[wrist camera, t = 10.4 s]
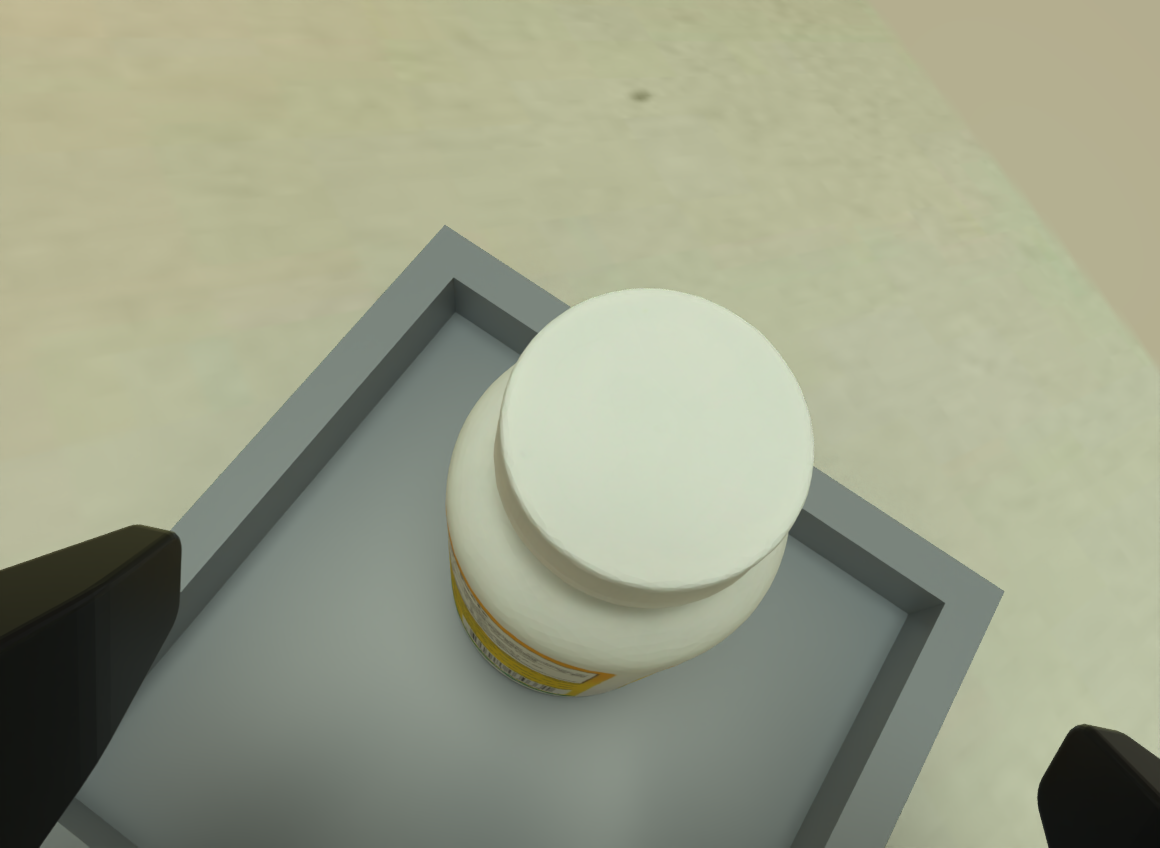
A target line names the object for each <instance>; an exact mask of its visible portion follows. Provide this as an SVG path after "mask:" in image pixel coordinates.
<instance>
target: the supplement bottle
mask: <svg viewBox="0 0 1160 848" xmlns="http://www.w3.org/2000/svg"><path fill="white" fill-rule="evenodd" d="M813 463H814V437H813V430H812V423H811V417H810V414H809V410H808V407H807V404H806V401H805V398H804V396H803V393H802V391H801V388H800V386H799V384H798V382H797V379H796V378H795V376H794V374H793V373H792V371H791V370H790V368H789V367H788V365H787V364H786V362H785V361H784V359H783V358H782V357H781V355H780V354H779V352H778V351H777V350H776V349H775V347H774V346H773V345H772V344H771V343H770V342H769V341H768V340H767V339H766V337H765V336H764V335H763V334H761V333H760V332H759V331H758V330H757V329H756V328H755V327H753V326H752V325H750V324H749V323H748V322H746V321H745V320H744V319H742V318H741V317H740V316H738V315H736V314H735V313H733V312H731V311H730V310H728V309H726V308H724V307H722V306H720V305H718V304H716V303H714V302H711V301H709V300H707V299H704V298H702V297H699V296H695V295H691V294H687V293H683V292H679V291H673V290H667V289H656V288H637V289H625V290H621V291H614V292H610V293H606V294H602V295H599V296H596V297H593V298H591V299H588V300H586V301H583V302H581V303H579V304H577V305H575V306H573V307H571V308H569V309H568V310H566V311H565V312H564V313H562V314H561V315H559V316H558V317H556V318H555V319H553V320H552V321H551V322H550V323H548V324H547V325H546V326H545V327H544V328H543V329H542V330H541V331H540V332H539V333H538V334H537V335H536V336H535V337H534V338H533V339H532V340H531V342H530V343H529V344H528V346H527V347H526V348H525V350H524V351H523V353H522V354H521V356H520V357H519V359H518V361H517V362H516V363H515V364H514V365H513V366H512V367H510V368H509V369H508V370H507V371H505V372H504V373H503V374H502V375H501V376H500V377H499V378H498V379H497V380H495V381H494V382H493V383H492V384H491V386H490V387H489V388H488V389H487V390H486V391H485V392H484V394H483V395H482V396H481V397H480V399H479V400H478V401H477V403H476V404H475V406H474V407H473V409H472V410H471V412H470V413H469V415H468V417H467V419H466V421H465V423H464V425H463V427H462V429H461V431H460V433H459V436H458V438H457V441H456V444H455V447H454V450H453V453H452V457H451V462H450V466H449V471H448V478H447V487H446V518H447V529H448V544H449V556H450V571H451V583H452V591H453V597H454V601H455V605H456V609H457V612H458V615H459V617H460V620H461V623H462V625H463V627H464V629H465V631H466V633H467V634H468V636H469V638H470V640H471V641H472V643H473V644H474V646H475V647H476V649H477V650H478V651H479V652H480V654H481V655H482V656H483V657H484V658H485V659H486V660H487V661H488V662H489V663H490V664H491V665H492V666H493V667H494V668H496V669H497V670H498V671H499V672H501V673H502V674H504V675H505V676H507V677H508V678H510V679H511V680H513V681H515V682H516V683H518V684H520V685H522V686H525V687H527V688H530V689H532V690H535V691H538V692H541V693H545V694H550V695H554V696H563V697H580V696H591V695H596V694H601V693H605V692H608V691H611V690H614V689H617V688H620V687H623V686H625V685H627V684H629V683H632V682H634V681H637V680H639V679H642V678H644V677H647V676H649V675H651V674H654V673H656V672H659V671H662V670H665V669H668V668H670V667H673V666H676V665H678V664H681V663H683V662H685V661H687V660H690V659H692V658H694V657H696V656H698V655H700V654H702V653H704V652H706V651H708V650H709V649H711V648H712V647H714V646H715V645H717V644H718V643H720V642H721V641H723V640H724V639H725V638H727V637H728V636H729V635H730V634H732V633H733V632H734V631H735V630H736V629H737V628H738V627H739V626H740V625H741V624H742V623H743V622H744V621H746V620H747V619H748V617H749V616H750V615H751V614H752V613H753V611H754V610H755V609H756V608H757V606H758V605H759V603H760V602H761V600H762V599H763V597H764V596H765V594H766V593H767V591H768V589H769V588H770V586H771V584H772V582H773V580H774V578H775V575H776V573H777V571H778V569H779V566H780V563H781V560H782V557H783V554H784V551H785V547H786V543H787V537H788V532H789V530H790V529H791V527H792V526H793V524H794V522H795V521H796V519H797V517H798V515H799V513H800V511H801V509H802V508H803V505H804V503H805V500H806V498H807V495H808V492H809V487H810V483H811V478H812V471H813Z"/></svg>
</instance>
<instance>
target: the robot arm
mask: <svg viewBox="0 0 1160 848" xmlns="http://www.w3.org/2000/svg"><path fill="white" fill-rule="evenodd" d="M181 561H182V544H181V540H180V537H179V536H178V535H177V534H176V533H175V532H173V531H168V530H163V529H159V528H154V527H149V526H145V525H131V526H128V527H125V528H122V529H119V530H116V531H113V532H111V533H108V534H105V535H102V536H99V537H96V538H93V539H90V540H87V541H84V542H81V543H78V544H76V545H73V546H70V547H67V548H64V549H61V550H58V551H55V552H52V553H49V554H46V555H43V556H41V557H38V558H35V559H32V560H29V561H26V562H23V563H20V564H17V565H14V566H11V567H8V568H6V569H3V570H0V848H40V846H41V845H42V843H43V842H44V840H45V839H46V838H47V836H48V835H49V833H50V832H51V830H52V829H53V828H54V826H55V825H56V823H57V822H58V820H59V819H60V818H61V816H62V815H63V813H64V812H65V810H66V809H67V808H68V806H69V805H70V803H71V802H72V800H73V799H74V798H75V796H76V795H77V793H78V792H79V790H80V789H81V788H82V786H83V785H84V783H85V782H86V780H87V778H88V777H89V775H90V774H91V772H92V771H93V769H94V768H95V766H96V765H97V763H98V762H99V760H100V758H101V756H102V755H103V753H104V751H105V750H106V748H107V746H108V744H109V743H110V741H111V739H112V737H113V736H114V734H115V732H116V730H117V728H118V726H119V725H120V723H121V721H122V719H123V717H124V716H125V714H126V712H127V710H128V708H129V706H130V705H131V703H132V701H133V699H134V697H135V696H136V694H137V692H138V690H139V688H140V686H141V685H142V683H143V681H144V679H145V677H146V675H147V674H148V672H149V670H150V668H151V666H152V665H153V663H154V661H155V659H156V657H157V655H158V654H159V652H160V650H161V648H162V646H163V645H164V643H165V641H166V639H167V637H168V635H169V634H170V632H171V630H172V628H173V626H174V624H175V621H176V618H177V615H178V612H179V606H180V591H181ZM1037 799H1038V809H1039V813H1040V817H1041V821H1042V824H1043V828H1044V832H1045V836H1046V840H1047V843H1048V847H1049V848H1160V759H1159V758H1158V757H1156V756H1155V755H1154V754H1152V753H1151V752H1149V751H1148V750H1147V749H1145V748H1144V747H1143V746H1141V745H1140V744H1138V743H1137V742H1136V741H1134V740H1133V739H1131V738H1130V737H1129V736H1127V735H1125V734H1124V733H1121V732H1119V731H1116V730H1111V729H1106V728H1102V727H1097V726H1092V725H1087V724H1082V725H1077V726H1075V727H1074V728H1073V729H1071V730H1070V731H1069V733H1068V734H1067V736H1066V737H1065V739H1064V741H1063V743H1062V744H1061V746H1060V748H1059V750H1058V751H1057V753H1056V755H1055V757H1054V758H1053V760H1052V762H1051V763H1050V765H1049V767H1048V769H1047V770H1046V772H1045V774H1044V776H1043V777H1042V779H1041V782H1040V784H1039V788H1038V796H1037Z"/></svg>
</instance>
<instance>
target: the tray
mask: <svg viewBox="0 0 1160 848" xmlns="http://www.w3.org/2000/svg"><path fill="white" fill-rule="evenodd" d="M569 308H571V307H570V306H568V305H567V304H565V303H563V302H562V301H560V300H559V299H557V298H556V297H554V296H553V295H551V294H550V293H548V292H547V291H545V290H544V289H542V288H541V287H539V286H538V285H536V284H534V283H533V282H531V281H530V280H528V279H527V278H525V277H524V276H522V275H521V274H519V273H518V272H516V271H515V270H513V269H512V268H510V267H509V266H507V265H505V264H504V263H502V262H501V261H499V260H498V259H496V258H495V257H493V256H492V255H490V254H489V253H487V252H486V251H484V250H483V249H481V248H480V247H478V246H476V245H475V244H473V243H472V242H470V241H469V240H467V239H466V238H464V237H463V236H461V235H460V234H458V233H457V232H455V231H454V230H452V229H451V228H449V227H447V226H446V225H444V226H443V228H442V229H441V230H440V231H439V232H438V233H437V234H436V235H435V236H434V238H433V239H432V240H431V241H430V242H429V243H428V244H427V245H426V246H425V248H424V249H423V250H422V251H421V252H420V253H419V254H418V255H417V257H416V258H415V259H414V260H413V261H412V262H411V263H410V264H409V265H408V267H407V268H406V269H405V270H404V271H403V272H402V273H401V274H400V275H399V277H398V278H397V279H396V280H395V281H394V282H393V283H392V284H391V285H390V287H389V288H388V289H387V290H386V291H385V292H384V293H383V294H382V295H381V297H380V298H379V299H378V300H377V301H376V302H375V303H374V304H373V306H372V307H371V308H370V309H369V310H368V311H367V312H366V313H365V314H364V316H363V317H362V318H361V319H360V320H359V321H358V322H357V323H356V324H355V326H354V327H353V328H352V329H351V330H350V331H349V332H348V333H347V334H346V336H345V337H344V338H343V339H342V340H341V341H340V342H339V343H338V344H337V346H336V347H335V348H334V349H333V350H332V351H331V352H330V353H329V354H328V356H327V357H326V358H325V359H324V360H323V361H322V362H321V363H320V365H319V366H318V367H317V368H316V369H315V370H314V371H313V372H312V373H311V375H310V376H309V377H308V378H307V379H306V380H305V381H304V382H303V383H302V385H301V386H300V387H299V388H298V389H297V390H296V391H295V392H294V393H293V395H292V396H291V397H290V398H289V399H288V400H287V401H286V402H285V403H284V405H283V406H282V407H281V408H280V409H279V410H278V411H277V412H276V414H275V415H274V416H273V417H272V418H271V419H270V420H269V421H268V422H267V424H266V425H265V426H264V427H263V428H262V429H261V430H260V431H259V432H258V434H257V435H256V436H255V437H254V438H253V439H252V440H251V441H250V442H249V444H248V445H247V446H246V447H245V448H244V449H243V450H242V451H241V452H240V454H239V455H238V456H237V457H236V458H235V459H234V460H233V461H232V462H231V464H230V465H229V466H228V467H227V468H226V469H225V470H224V471H223V473H222V474H221V475H220V476H219V477H218V478H217V479H216V480H215V481H214V483H213V484H212V485H211V486H210V487H209V488H208V489H207V490H206V491H205V493H204V494H203V495H202V496H201V497H200V498H199V499H198V500H197V501H196V503H195V504H194V505H193V506H192V507H191V508H190V509H189V510H188V511H187V513H186V514H185V515H184V516H183V517H182V518H181V519H180V520H179V522H178V523H177V524H176V525H175V526H174V527H173V528H172V529H171V530H170V531H173V532H175V533H176V534H177V535H178V536H179V537H180V540H181V544H182V561H181V591H180V606H179V612H178V615H177V618H176V621H175V624H174V626H173V628H172V630H171V632H170V634H169V635H168V637H167V639H166V641H165V643H164V645H163V646H162V648H161V650H160V652H159V654H158V655H157V657H156V659H155V661H154V663H153V665H152V666H151V668H150V670H149V672H148V674H147V675H146V677H145V679H144V681H143V683H142V685H141V686H140V688H139V690H138V692H137V694H136V696H135V697H134V699H133V701H132V703H131V705H130V706H129V708H128V710H127V712H126V714H125V716H124V717H123V719H122V721H121V723H120V725H119V726H118V728H117V730H116V732H115V734H114V736H113V737H112V739H111V741H110V743H109V744H108V746H107V748H106V750H105V751H104V753H103V755H102V756H101V758H100V760H99V762H98V763H97V765H96V766H95V768H94V769H93V771H92V772H91V774H90V775H89V777H88V778H87V780H86V782H85V783H84V785H83V786H82V788H81V789H80V790H79V792H78V793H77V795H76V796H75V798H74V799H73V800H72V802H71V803H70V805H69V806H68V808H67V809H66V810H65V812H64V813H63V815H62V816H61V818H60V819H59V820H58V822H57V823H56V825H55V826H54V828H53V829H52V830H51V832H50V833H49V835H48V836H47V838H46V839H45V840H44V842H43V843H42V845H41V846H40V848H885V846H886V844H887V842H888V839H889V837H890V835H891V833H892V831H893V829H894V827H895V824H896V822H897V820H898V818H899V816H900V814H901V812H902V809H903V807H904V805H905V803H906V801H907V799H908V797H909V794H910V792H911V790H912V788H913V786H914V784H915V782H916V780H917V777H918V775H919V773H920V771H921V769H922V767H923V765H924V762H925V760H926V758H927V756H928V754H929V752H930V750H931V747H932V745H933V743H934V741H935V739H936V737H937V735H938V732H939V730H940V728H941V726H942V724H943V722H944V720H945V717H946V715H947V713H948V711H949V709H950V707H951V705H952V703H953V700H954V698H955V696H956V694H957V692H958V690H959V688H960V685H961V683H962V681H963V679H964V677H965V675H966V673H967V670H968V668H969V666H970V664H971V662H972V660H973V658H974V655H975V653H976V651H977V649H978V647H979V645H980V643H981V640H982V638H983V636H984V634H985V632H986V630H987V628H988V625H989V623H990V621H991V619H992V617H993V615H994V613H995V611H996V608H997V606H998V604H999V602H1000V600H1001V598H1002V596H1003V593H1004V591H1003V590H1002V589H1000V588H998V587H997V586H995V585H994V584H992V583H991V582H989V581H988V580H986V579H985V578H983V577H982V576H980V575H979V574H977V573H976V572H974V571H973V570H971V569H969V568H968V567H966V566H965V565H963V564H962V563H960V562H959V561H957V560H956V559H954V558H953V557H951V556H950V555H948V554H947V553H945V552H944V551H942V550H940V549H939V548H937V547H936V546H934V545H933V544H931V543H930V542H928V541H927V540H925V539H924V538H922V537H921V536H919V535H918V534H916V533H915V532H913V531H911V530H910V529H908V528H907V527H905V526H904V525H902V524H901V523H899V522H898V521H896V520H895V519H893V518H892V517H890V516H889V515H887V514H886V513H884V512H882V511H881V510H879V509H878V508H876V507H875V506H873V505H872V504H870V503H869V502H867V501H866V500H864V499H863V498H861V497H860V496H858V495H857V494H855V493H853V492H852V491H850V490H849V489H847V488H846V487H844V486H843V485H841V484H840V483H838V482H837V481H835V480H834V479H832V478H831V477H829V476H828V475H826V474H824V473H823V472H821V471H820V470H818V469H817V468H815V467H814V466H813V471H812V478H811V483H810V487H809V492H808V495H807V498H806V500H805V503H804V505H803V508H802V509H801V511H800V513H799V515H798V517H797V519H796V521H795V522H794V524H793V526H792V527H791V529H790V530H789V532H788V537H787V543H786V547H785V551H784V554H783V557H782V560H781V563H780V566H779V569H778V571H777V573H776V575H775V578H774V580H773V582H772V584H771V586H770V588H769V589H768V591H767V593H766V594H765V596H764V597H763V599H762V600H761V602H760V603H759V605H758V606H757V608H756V609H755V610H754V611H753V613H752V614H751V615H750V616H749V617H748V619H747V620H746V621H744V622H743V623H742V624H741V625H740V626H739V627H738V628H737V629H736V630H735V631H734V632H733V633H732V634H730V635H729V636H728V637H727V638H725V639H724V640H723V641H721V642H720V643H718V644H717V645H715V646H714V647H712V648H711V649H709V650H708V651H706V652H704V653H702V654H700V655H698V656H696V657H694V658H692V659H690V660H687V661H685V662H683V663H681V664H678V665H676V666H673V667H670V668H668V669H665V670H662V671H659V672H656V673H654V674H651V675H649V676H647V677H644V678H642V679H639V680H637V681H634V682H632V683H629V684H627V685H625V686H623V687H620V688H617V689H614V690H611V691H608V692H605V693H601V694H596V695H591V696H580V697H563V696H554V695H550V694H545V693H541V692H538V691H535V690H532V689H530V688H527V687H525V686H522V685H520V684H518V683H516V682H515V681H513V680H511V679H510V678H508V677H507V676H505V675H504V674H502V673H501V672H499V671H498V670H497V669H496V668H494V667H493V666H492V665H491V664H490V663H489V662H488V661H487V660H486V659H485V658H484V657H483V656H482V655H481V654H480V652H479V651H478V650H477V649H476V647H475V646H474V644H473V643H472V641H471V640H470V638H469V636H468V634H467V633H466V631H465V629H464V627H463V625H462V623H461V620H460V617H459V615H458V612H457V609H456V605H455V601H454V597H453V591H452V583H451V571H450V556H449V544H448V529H447V518H446V487H447V478H448V471H449V466H450V462H451V457H452V453H453V450H454V447H455V444H456V441H457V438H458V436H459V433H460V431H461V429H462V427H463V425H464V423H465V421H466V419H467V417H468V415H469V413H470V412H471V410H472V409H473V407H474V406H475V404H476V403H477V401H478V400H479V399H480V397H481V396H482V395H483V394H484V392H485V391H486V390H487V389H488V388H489V387H490V386H491V384H492V383H493V382H494V381H495V380H497V379H498V378H499V377H500V376H501V375H502V374H503V373H504V372H505V371H507V370H508V369H509V368H510V367H512V366H513V365H514V364H515V363H516V362H517V361H518V359H519V357H520V356H521V354H522V353H523V351H524V350H525V348H526V347H527V346H528V344H529V343H530V342H531V340H532V339H533V338H534V337H535V336H536V335H537V334H538V333H539V332H540V331H541V330H542V329H543V328H544V327H545V326H546V325H547V324H548V323H550V322H551V321H552V320H553V319H555V318H556V317H558V316H559V315H561V314H562V313H564V312H565V311H566V310H568V309H569Z"/></svg>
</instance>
